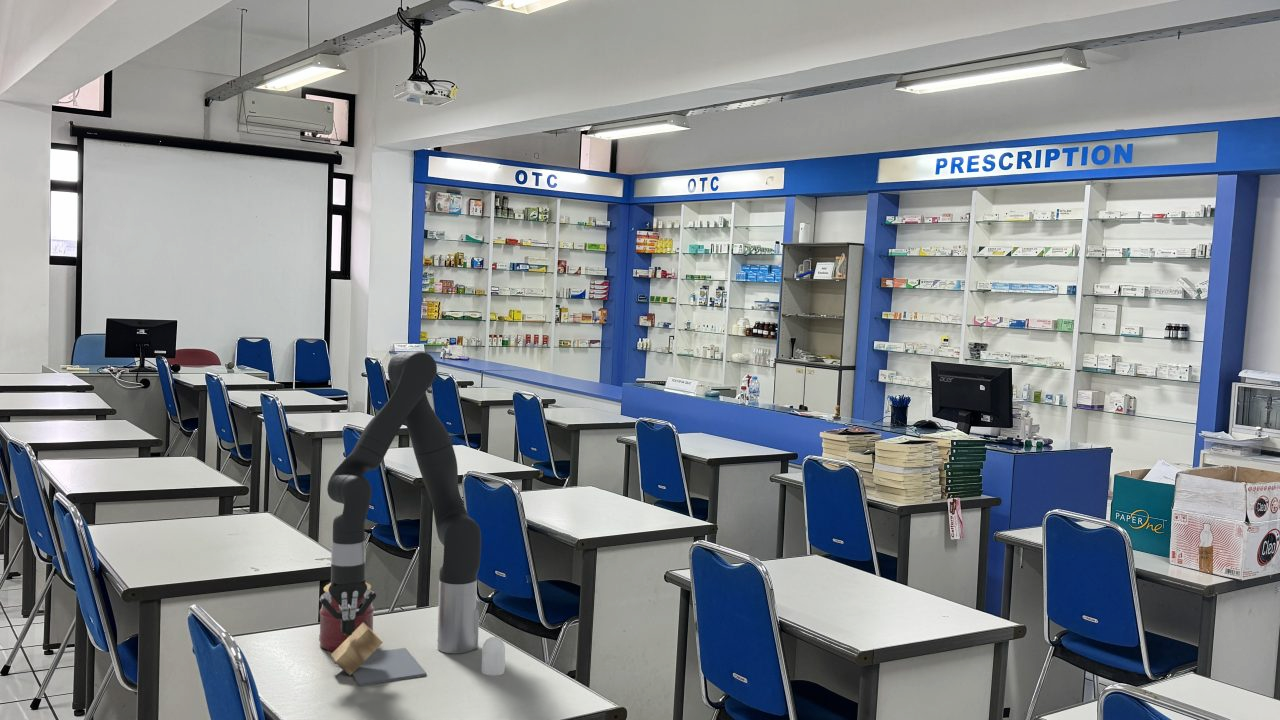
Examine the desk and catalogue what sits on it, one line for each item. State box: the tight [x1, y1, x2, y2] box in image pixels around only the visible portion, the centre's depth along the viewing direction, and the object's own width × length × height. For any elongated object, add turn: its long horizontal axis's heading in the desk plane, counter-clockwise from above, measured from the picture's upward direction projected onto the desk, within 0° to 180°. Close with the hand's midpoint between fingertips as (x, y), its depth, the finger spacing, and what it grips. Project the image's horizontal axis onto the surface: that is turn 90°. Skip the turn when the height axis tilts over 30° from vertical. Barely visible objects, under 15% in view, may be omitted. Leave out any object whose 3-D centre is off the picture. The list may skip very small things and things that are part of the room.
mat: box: [351, 647, 427, 687], centre depth 237 cm, size 15×18×1 cm
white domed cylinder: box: [481, 636, 506, 676], centre depth 237 cm, size 5×5×8 cm
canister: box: [318, 581, 375, 652], centre depth 251 cm, size 13×13×18 cm
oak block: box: [330, 622, 384, 677], centre depth 234 cm, size 5×5×10 cm
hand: (347, 634), depth 233 cm, fingers closed
